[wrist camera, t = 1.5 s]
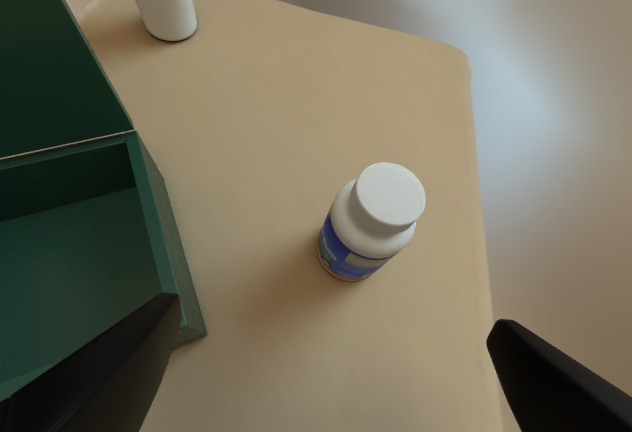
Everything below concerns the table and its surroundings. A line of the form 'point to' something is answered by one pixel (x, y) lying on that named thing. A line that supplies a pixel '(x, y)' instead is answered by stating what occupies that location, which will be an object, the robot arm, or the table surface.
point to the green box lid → (51, 80)
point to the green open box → (83, 251)
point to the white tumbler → (168, 18)
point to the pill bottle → (370, 221)
